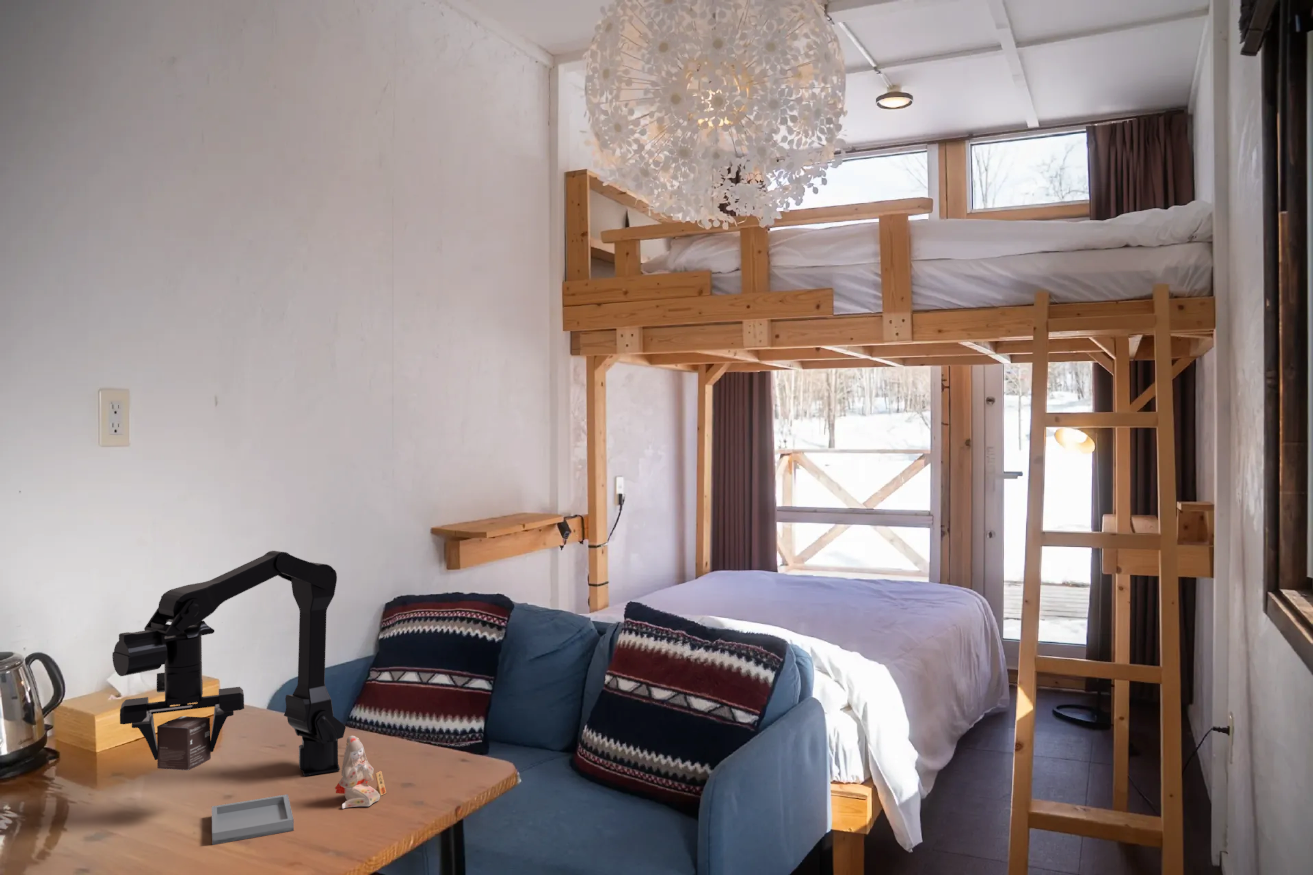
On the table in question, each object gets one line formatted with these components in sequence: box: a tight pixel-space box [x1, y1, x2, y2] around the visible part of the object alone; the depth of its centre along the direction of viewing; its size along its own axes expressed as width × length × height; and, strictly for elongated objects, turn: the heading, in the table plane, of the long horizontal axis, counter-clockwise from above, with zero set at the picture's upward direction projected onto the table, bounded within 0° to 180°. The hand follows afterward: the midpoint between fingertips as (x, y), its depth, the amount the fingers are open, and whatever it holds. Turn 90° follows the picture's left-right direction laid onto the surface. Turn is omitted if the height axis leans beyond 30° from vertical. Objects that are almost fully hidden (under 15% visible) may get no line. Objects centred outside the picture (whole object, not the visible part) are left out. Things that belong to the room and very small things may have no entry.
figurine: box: [334, 735, 387, 809], centre depth 167 cm, size 9×7×12 cm
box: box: [156, 716, 212, 771], centre depth 162 cm, size 6×6×7 cm
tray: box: [211, 793, 295, 846], centre depth 158 cm, size 12×12×2 cm
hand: (184, 755), depth 162 cm, fingers closed on box, 8 cm apart
